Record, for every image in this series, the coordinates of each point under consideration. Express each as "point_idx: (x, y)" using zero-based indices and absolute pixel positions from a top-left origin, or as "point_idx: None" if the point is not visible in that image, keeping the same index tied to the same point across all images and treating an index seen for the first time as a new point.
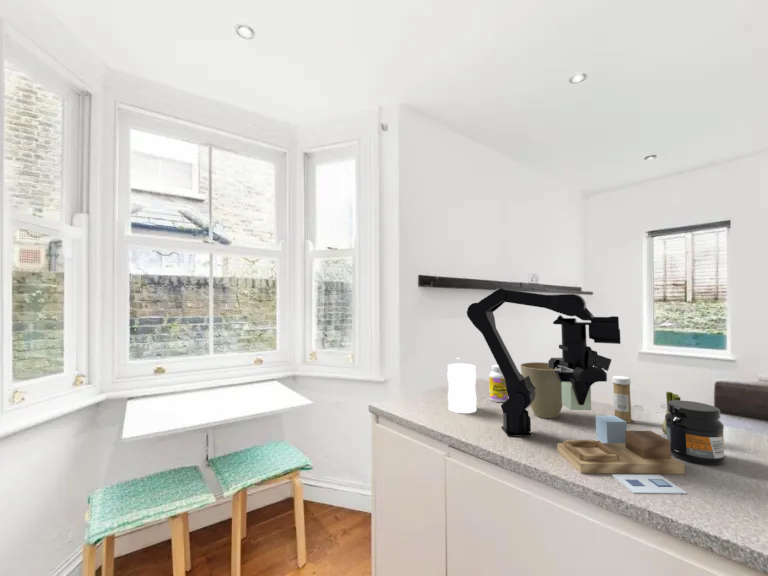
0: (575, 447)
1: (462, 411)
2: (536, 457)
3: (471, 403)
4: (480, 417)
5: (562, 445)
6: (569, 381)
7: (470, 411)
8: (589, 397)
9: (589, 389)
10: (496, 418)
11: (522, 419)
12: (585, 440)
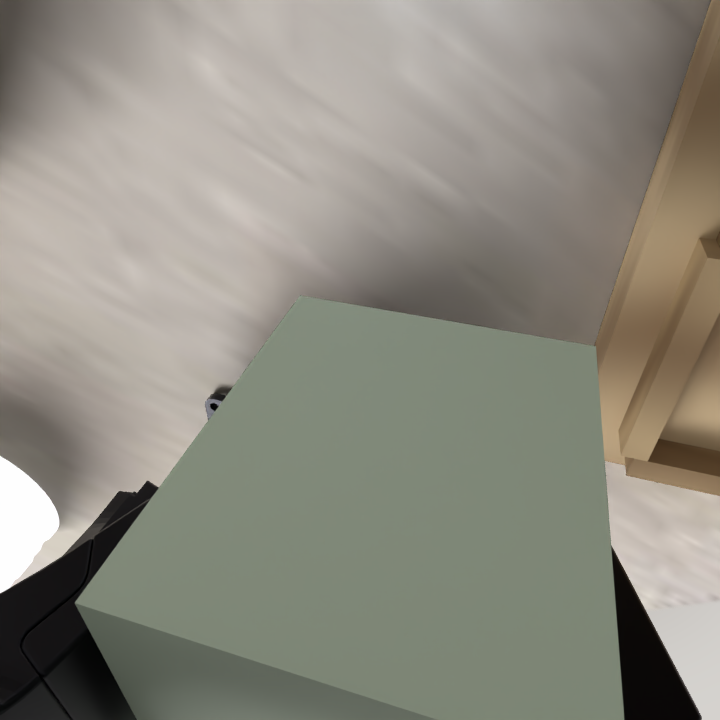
0: (681, 402)
1: (51, 521)
2: (613, 539)
3: (2, 522)
4: (91, 482)
5: (616, 449)
6: (111, 702)
7: (36, 494)
8: (602, 520)
9: (611, 689)
10: (83, 429)
11: None
12: (678, 335)
